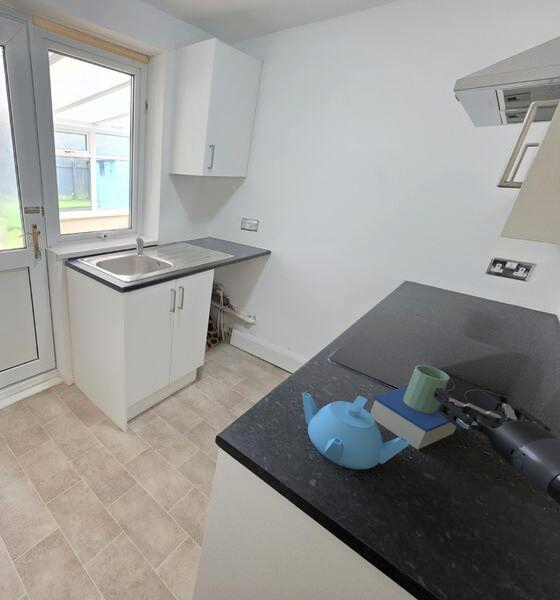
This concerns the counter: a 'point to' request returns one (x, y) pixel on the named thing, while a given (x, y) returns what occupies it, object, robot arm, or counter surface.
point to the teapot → (348, 434)
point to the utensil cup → (425, 388)
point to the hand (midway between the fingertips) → (458, 393)
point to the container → (410, 419)
